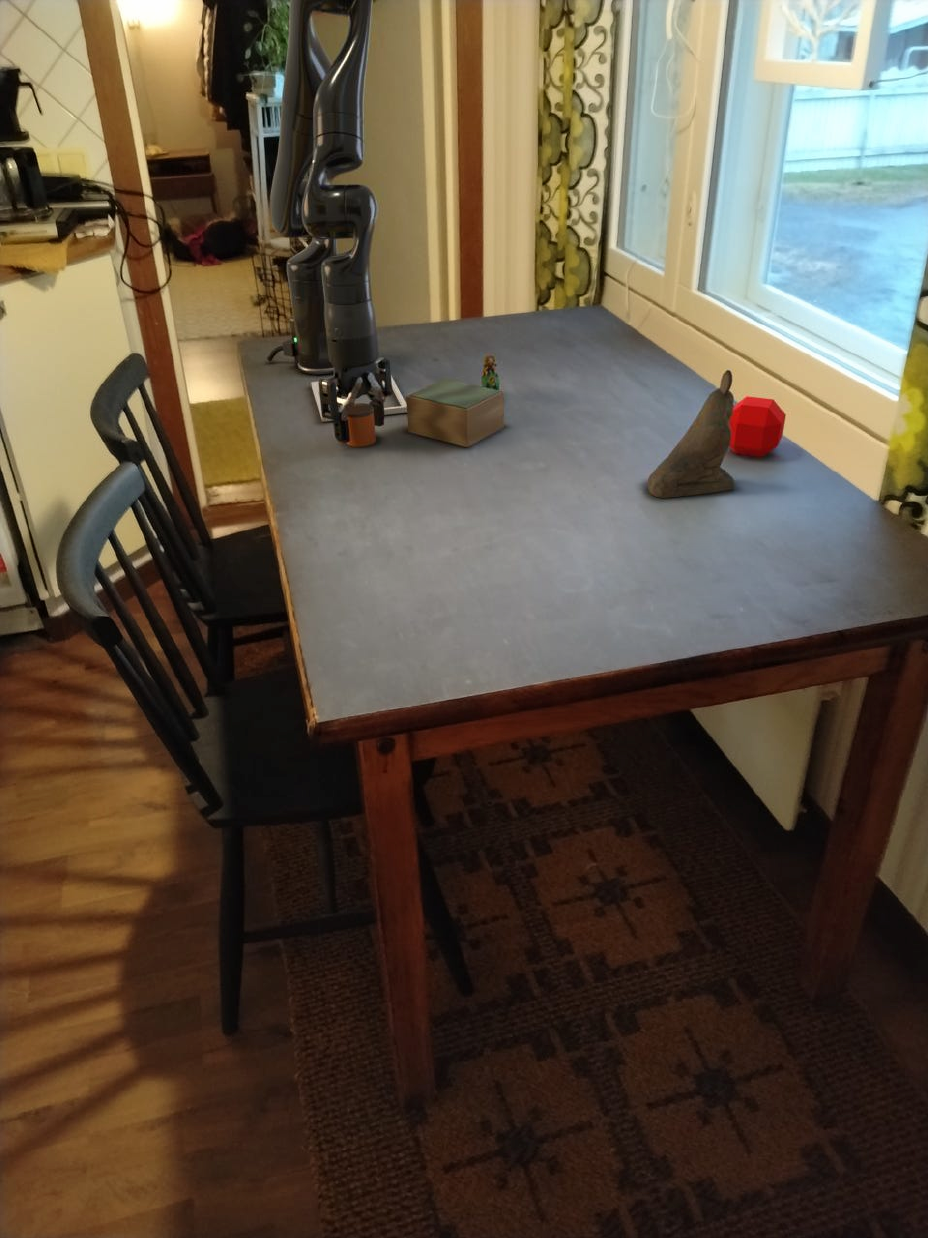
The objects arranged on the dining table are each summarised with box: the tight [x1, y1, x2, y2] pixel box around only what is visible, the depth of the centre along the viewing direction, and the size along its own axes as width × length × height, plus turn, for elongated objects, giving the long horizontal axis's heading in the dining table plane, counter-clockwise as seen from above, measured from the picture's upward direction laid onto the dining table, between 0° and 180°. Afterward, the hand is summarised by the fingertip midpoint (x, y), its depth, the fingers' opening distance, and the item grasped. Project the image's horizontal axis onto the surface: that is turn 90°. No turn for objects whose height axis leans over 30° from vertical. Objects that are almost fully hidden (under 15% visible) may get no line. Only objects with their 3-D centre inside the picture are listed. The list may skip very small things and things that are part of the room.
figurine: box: [480, 354, 500, 391], centre depth 164 cm, size 3×12×8 cm, turn 5°
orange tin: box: [346, 402, 377, 448], centre depth 151 cm, size 5×5×5 cm
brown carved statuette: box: [647, 369, 735, 499], centre depth 131 cm, size 12×6×18 cm, turn 97°
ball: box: [729, 395, 787, 458], centre depth 143 cm, size 8×8×8 cm
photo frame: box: [311, 375, 407, 422], centre depth 168 cm, size 15×1×18 cm
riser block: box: [405, 378, 505, 448], centre depth 154 cm, size 12×10×6 cm
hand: (360, 433), depth 152 cm, fingers open, 7 cm apart
